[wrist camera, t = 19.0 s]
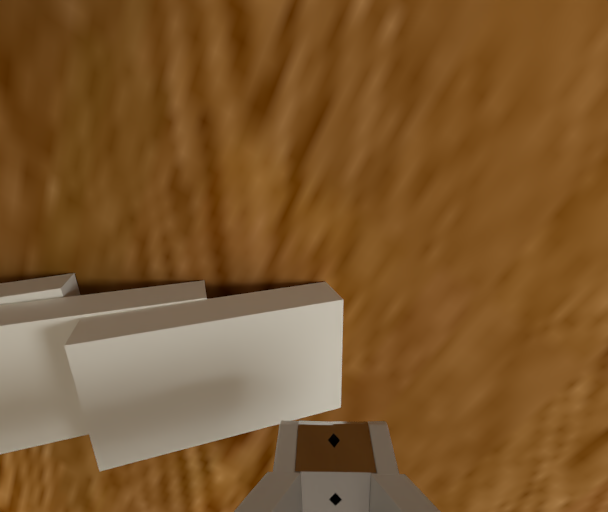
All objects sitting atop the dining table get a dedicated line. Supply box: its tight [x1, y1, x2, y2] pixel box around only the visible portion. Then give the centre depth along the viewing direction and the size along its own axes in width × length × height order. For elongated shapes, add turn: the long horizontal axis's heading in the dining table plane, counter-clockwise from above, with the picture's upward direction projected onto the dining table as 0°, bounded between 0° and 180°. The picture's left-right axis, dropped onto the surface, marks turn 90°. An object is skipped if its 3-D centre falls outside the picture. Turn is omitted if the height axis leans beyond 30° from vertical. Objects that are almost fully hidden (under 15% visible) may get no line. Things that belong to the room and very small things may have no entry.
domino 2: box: [64, 282, 343, 471], centre depth 13 cm, size 5×2×9 cm
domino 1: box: [0, 280, 207, 454], centre depth 13 cm, size 5×2×9 cm
